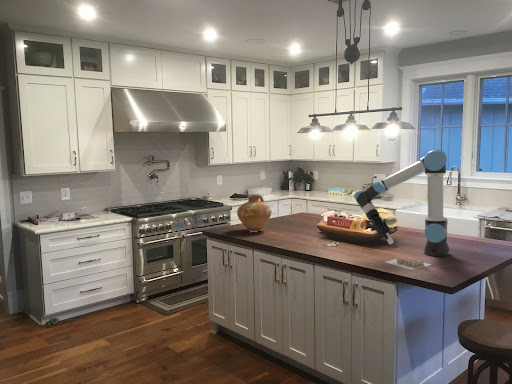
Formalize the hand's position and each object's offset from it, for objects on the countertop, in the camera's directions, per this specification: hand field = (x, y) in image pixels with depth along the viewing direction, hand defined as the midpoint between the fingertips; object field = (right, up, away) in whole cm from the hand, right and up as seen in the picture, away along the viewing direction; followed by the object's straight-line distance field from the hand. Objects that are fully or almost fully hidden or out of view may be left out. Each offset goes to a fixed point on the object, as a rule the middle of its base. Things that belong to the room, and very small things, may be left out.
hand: (391, 243), depth 265 cm
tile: (+4, -9, -5) cm, 11 cm away
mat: (+6, -11, -9) cm, 15 cm away
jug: (-82, -2, +98) cm, 128 cm away
